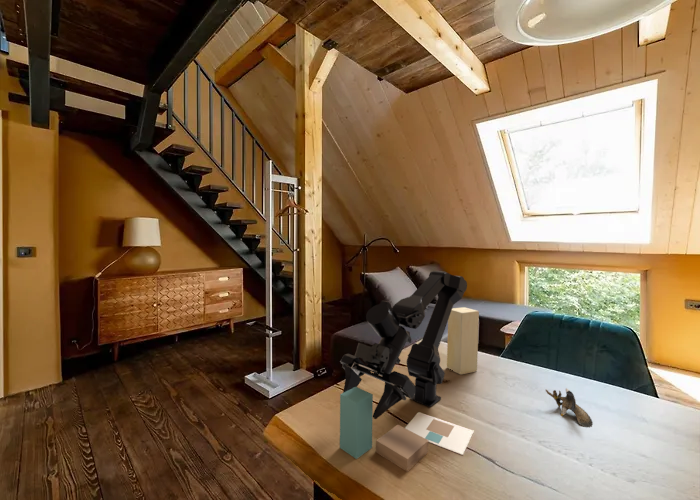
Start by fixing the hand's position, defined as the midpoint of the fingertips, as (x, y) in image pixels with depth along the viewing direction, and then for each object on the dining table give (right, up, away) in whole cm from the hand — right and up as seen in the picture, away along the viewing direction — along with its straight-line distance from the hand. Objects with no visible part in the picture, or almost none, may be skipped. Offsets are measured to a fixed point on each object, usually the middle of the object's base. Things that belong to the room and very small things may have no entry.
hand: (357, 409), depth 70 cm
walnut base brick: (+10, -9, -1) cm, 13 cm away
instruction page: (+19, -8, +6) cm, 22 cm away
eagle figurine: (+56, -9, +13) cm, 58 cm away
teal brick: (0, -8, 0) cm, 8 cm away
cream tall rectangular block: (+37, -7, +42) cm, 56 cm away
